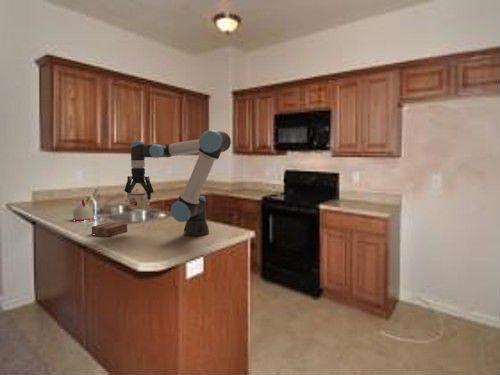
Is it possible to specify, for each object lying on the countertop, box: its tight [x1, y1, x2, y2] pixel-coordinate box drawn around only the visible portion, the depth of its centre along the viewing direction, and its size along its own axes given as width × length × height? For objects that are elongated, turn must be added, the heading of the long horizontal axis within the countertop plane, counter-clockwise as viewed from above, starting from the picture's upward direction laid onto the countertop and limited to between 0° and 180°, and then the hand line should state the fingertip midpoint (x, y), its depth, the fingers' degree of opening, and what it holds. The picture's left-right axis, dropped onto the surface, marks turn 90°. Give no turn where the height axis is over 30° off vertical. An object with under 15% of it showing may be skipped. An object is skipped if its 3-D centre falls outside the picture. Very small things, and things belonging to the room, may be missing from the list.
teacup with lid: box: [129, 187, 146, 210], centre depth 196 cm, size 12×9×12 cm
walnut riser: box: [91, 221, 128, 238], centre depth 200 cm, size 14×14×5 cm
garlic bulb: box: [72, 199, 95, 221], centre depth 239 cm, size 14×14×15 cm
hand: (139, 204), depth 196 cm, fingers closed on teacup with lid, 12 cm apart
